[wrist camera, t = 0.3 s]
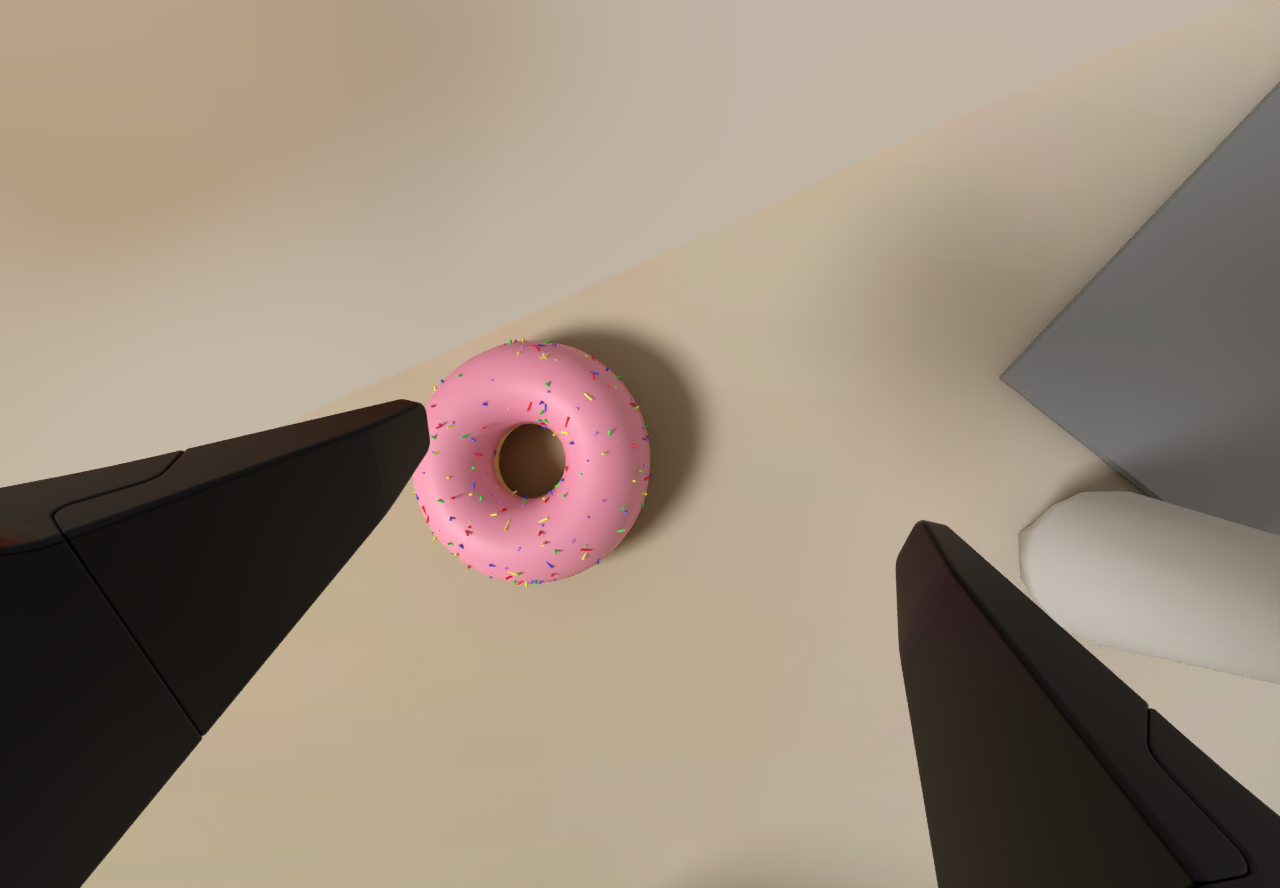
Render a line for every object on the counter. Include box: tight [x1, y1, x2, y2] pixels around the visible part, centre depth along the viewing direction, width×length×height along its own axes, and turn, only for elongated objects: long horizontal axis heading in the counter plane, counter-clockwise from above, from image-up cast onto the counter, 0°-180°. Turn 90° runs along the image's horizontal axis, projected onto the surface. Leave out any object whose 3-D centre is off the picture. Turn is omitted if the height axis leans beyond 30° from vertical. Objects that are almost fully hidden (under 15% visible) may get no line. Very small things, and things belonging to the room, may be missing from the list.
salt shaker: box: [1018, 491, 1280, 685], centre depth 15 cm, size 6×6×13 cm
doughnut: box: [412, 338, 652, 587], centre depth 23 cm, size 11×11×4 cm
